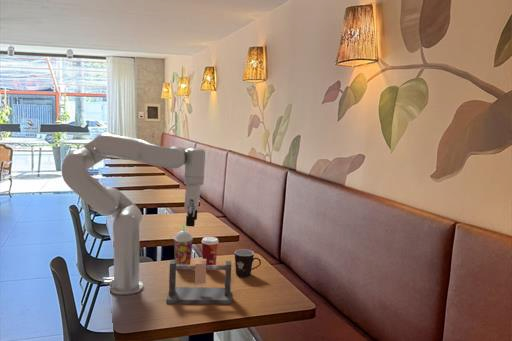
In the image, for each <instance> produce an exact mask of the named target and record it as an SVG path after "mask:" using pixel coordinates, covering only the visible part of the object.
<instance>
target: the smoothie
mask: <svg viewBox="0 0 512 341" xmlns="http://www.w3.org/2000/svg"><path fill="white" fill-rule="evenodd" d="M193 239H194V238H193V236H192V234H191V233H190V231H188V230H185V224H184V223H183V224H182V230H179V231H178V232H176V234H175V235H174V236H173V245H174V247H173V248H174V260H176V265H191V259H192V252H193V251H192V247H193ZM179 270H182V269H179ZM182 271H183V270H182Z"/></svg>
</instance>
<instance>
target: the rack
mask: <svg viewBox="0 0 512 341" xmlns="http://www.w3.org/2000/svg"><path fill="white" fill-rule="evenodd" d="M180 269H182V271H184V270H185V271H186V270H189V271H190V270H192V271H195V264H190V265H176V260H175V259H170V262H169V274H168V275H169V278H168V279H169V280H168V281H169V283H168V284H169V286H168V292H167V296H166V304H183V305H184V304H187V305H188V304H191V305H192V304H195V305H196V304H197V305H199V304H200V305H202V304H205V305H211V304H213V305H232V288H231V285H232V284H231V280H232V261H231V260H226V261H225V265H223V264H221V265H219V264H218V265H217V264H216V265H206V270H213V271H224V272H225V273H224V274H225V276H224V278H225V279H224V287H203V286H200V287H197V286H194V287H193V286H186V287H185V286H184V287H183V286H176V281H177V280H176V277H177V273H176V272H177V270H180Z"/></svg>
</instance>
